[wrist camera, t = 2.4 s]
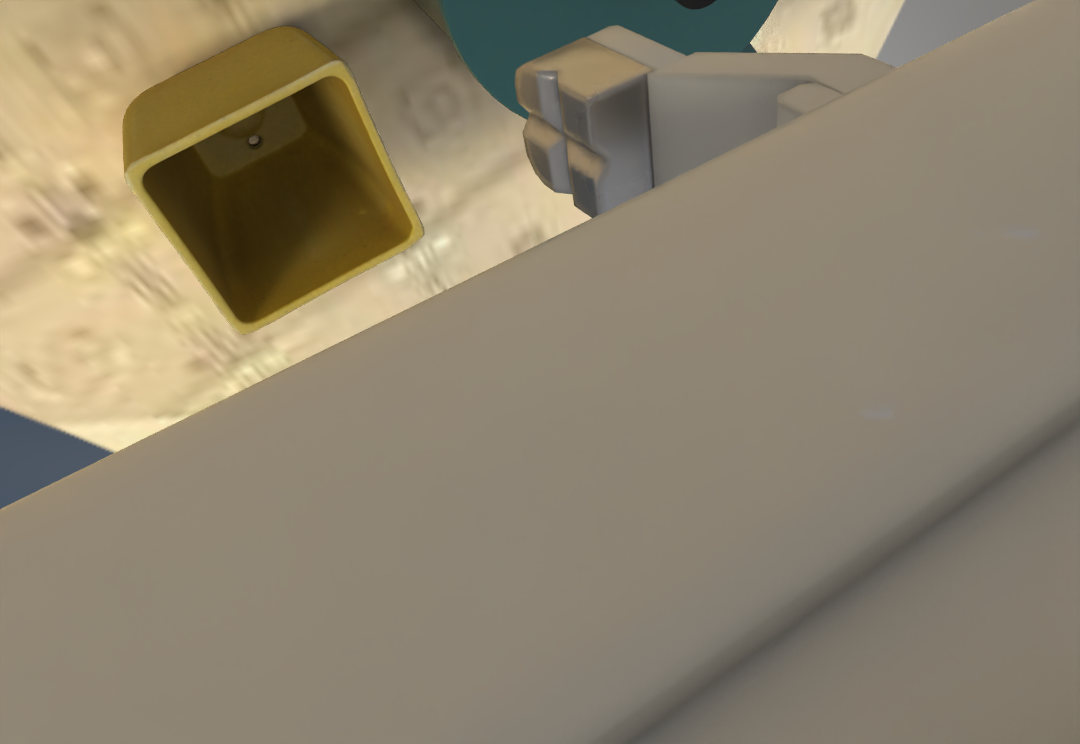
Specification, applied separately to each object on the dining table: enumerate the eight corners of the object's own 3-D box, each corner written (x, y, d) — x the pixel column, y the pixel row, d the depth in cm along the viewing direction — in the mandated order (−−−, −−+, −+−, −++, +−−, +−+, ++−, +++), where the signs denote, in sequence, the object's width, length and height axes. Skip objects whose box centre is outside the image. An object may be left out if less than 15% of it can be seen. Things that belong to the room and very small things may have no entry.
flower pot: (82, 66, 40) (118, 174, 34) (277, -31, 41) (346, 57, 35) (194, 227, 46) (241, 340, 40) (360, 140, 47) (429, 238, 41)
